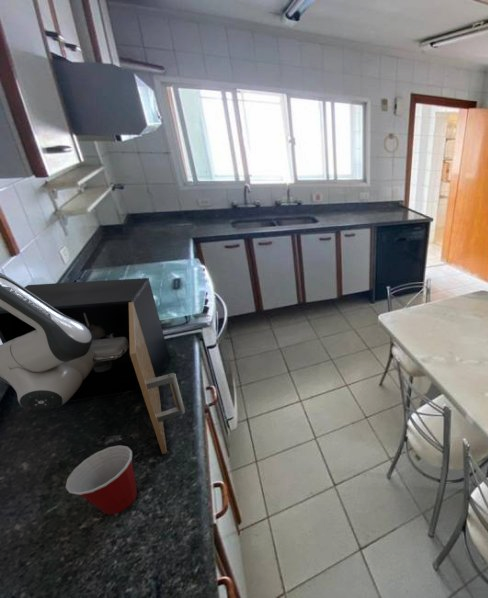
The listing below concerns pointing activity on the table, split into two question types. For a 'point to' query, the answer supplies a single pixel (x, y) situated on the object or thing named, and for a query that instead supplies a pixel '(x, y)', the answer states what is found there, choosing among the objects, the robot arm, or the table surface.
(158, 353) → the box
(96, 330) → the beverage cup
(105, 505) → the plastic cup
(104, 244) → the table surface
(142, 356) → the fridge door
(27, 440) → the table surface
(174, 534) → the table surface
